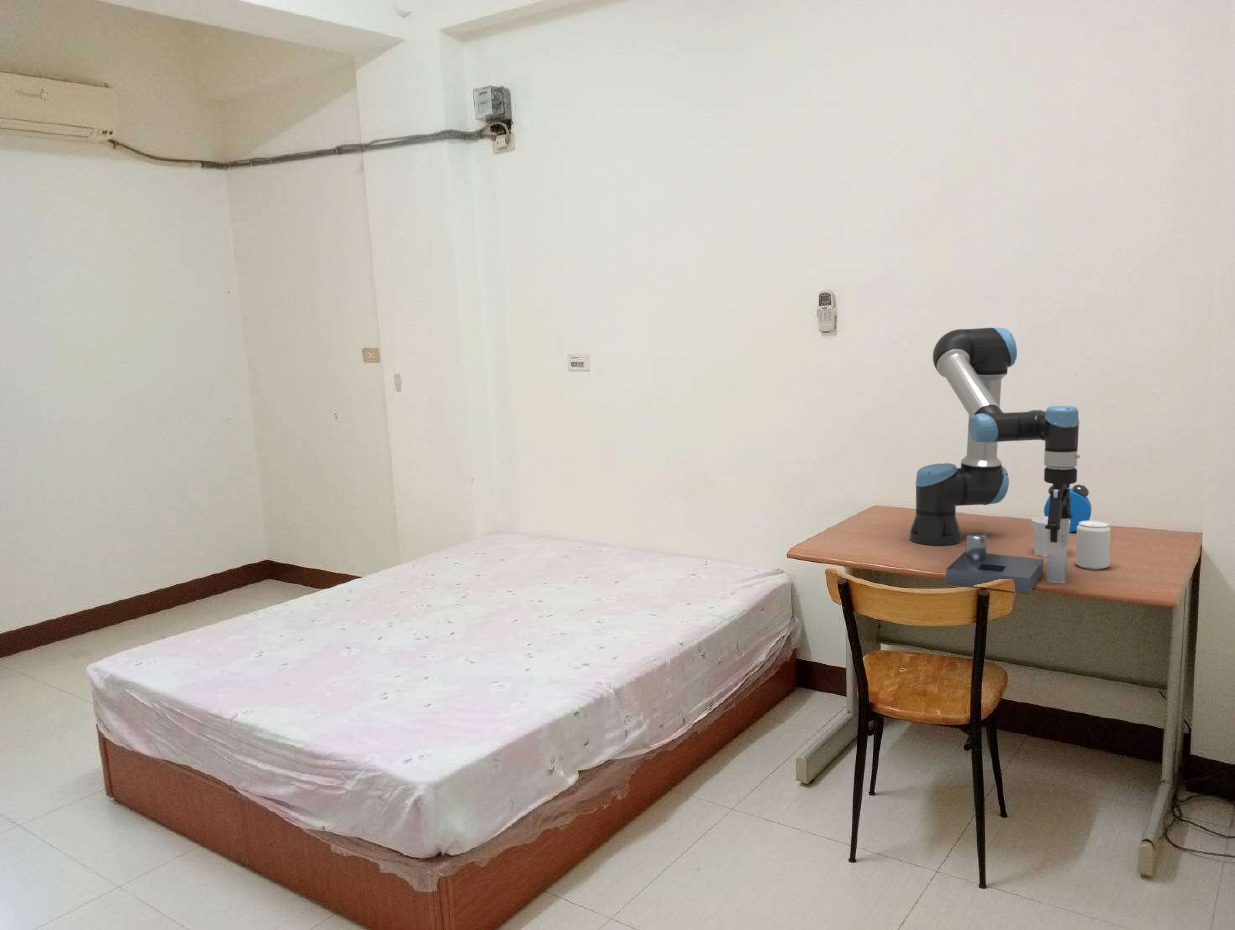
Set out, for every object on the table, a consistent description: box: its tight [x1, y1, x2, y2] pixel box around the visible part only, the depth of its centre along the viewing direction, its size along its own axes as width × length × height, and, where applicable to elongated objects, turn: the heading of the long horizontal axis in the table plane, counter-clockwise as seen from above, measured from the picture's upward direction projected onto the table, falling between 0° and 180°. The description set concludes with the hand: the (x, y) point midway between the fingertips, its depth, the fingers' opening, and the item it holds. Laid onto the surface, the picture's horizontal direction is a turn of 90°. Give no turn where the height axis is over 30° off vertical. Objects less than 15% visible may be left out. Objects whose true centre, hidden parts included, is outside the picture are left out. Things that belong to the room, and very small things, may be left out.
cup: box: [1030, 516, 1070, 558], centre depth 259 cm, size 10×10×10 cm
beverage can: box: [1075, 520, 1111, 571], centre depth 245 cm, size 8×8×12 cm
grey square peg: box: [1046, 534, 1069, 585], centre depth 234 cm, size 4×4×12 cm
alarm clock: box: [1043, 484, 1092, 533], centre depth 284 cm, size 13×6×15 cm, turn 61°
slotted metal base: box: [945, 532, 1045, 595], centre depth 238 cm, size 20×20×10 cm
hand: (1058, 548), depth 233 cm, fingers open, 13 cm apart
